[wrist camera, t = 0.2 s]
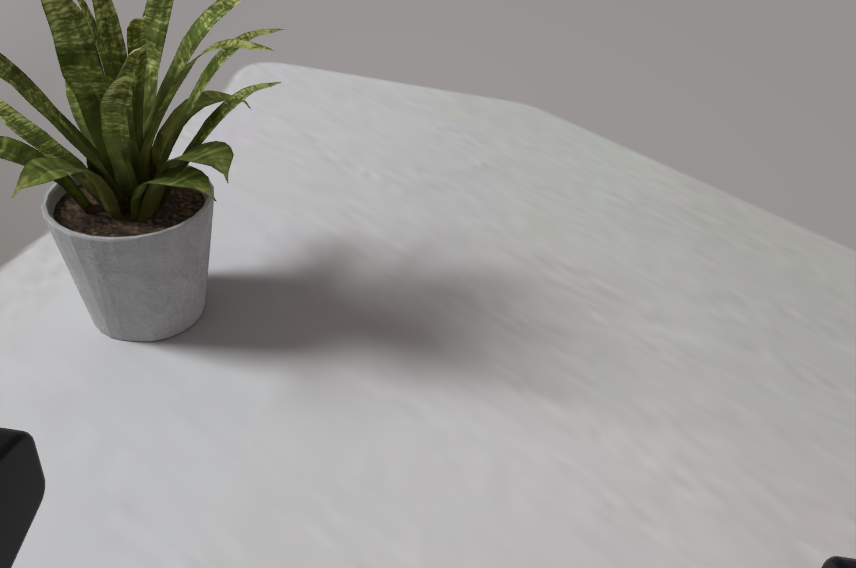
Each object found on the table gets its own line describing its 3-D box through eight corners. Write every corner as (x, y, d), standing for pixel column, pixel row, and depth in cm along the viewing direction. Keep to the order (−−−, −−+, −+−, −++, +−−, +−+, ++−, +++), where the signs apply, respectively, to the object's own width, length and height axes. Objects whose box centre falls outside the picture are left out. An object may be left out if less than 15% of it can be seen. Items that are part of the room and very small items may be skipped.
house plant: (376, 278, 40) (390, -52, 31) (213, 461, 30) (157, 48, 20) (155, 205, 45) (106, -107, 35) (-56, 344, 34) (-209, -47, 24)
